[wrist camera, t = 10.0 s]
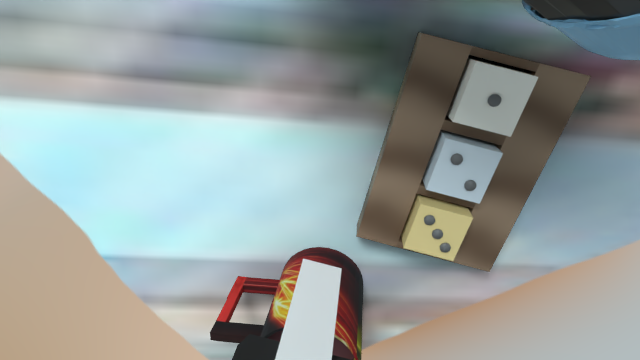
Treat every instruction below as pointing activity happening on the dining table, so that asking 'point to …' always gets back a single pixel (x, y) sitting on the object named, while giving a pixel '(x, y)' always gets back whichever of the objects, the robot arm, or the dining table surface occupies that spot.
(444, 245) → the tile
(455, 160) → the two-dot tile
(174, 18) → the dining table surface
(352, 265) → the mug
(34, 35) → the dining table surface
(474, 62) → the tile
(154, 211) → the dining table surface
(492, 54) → the board
